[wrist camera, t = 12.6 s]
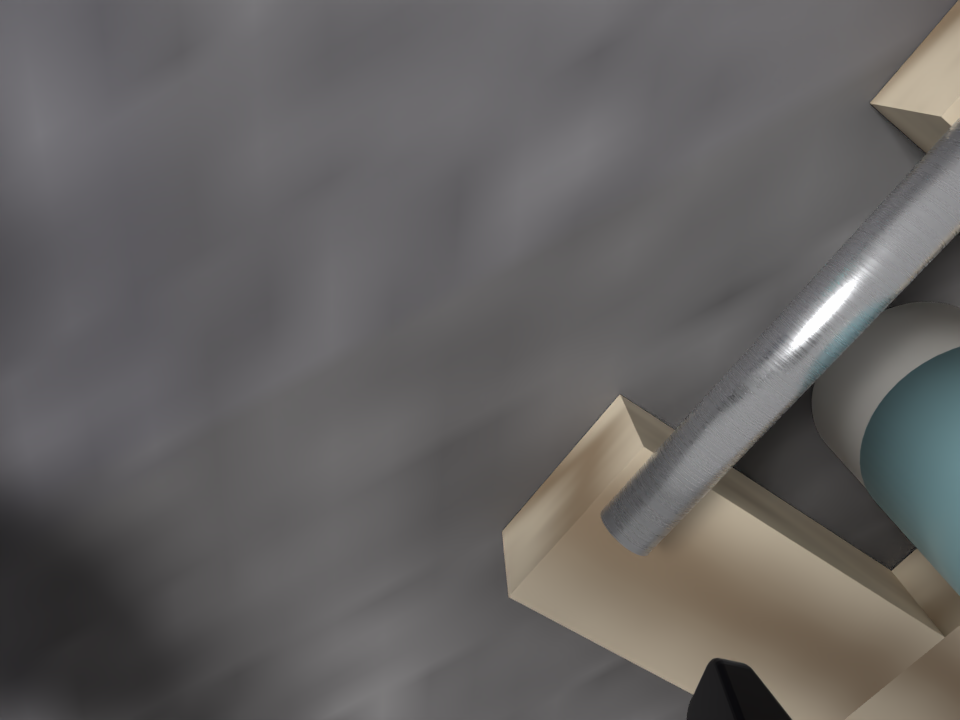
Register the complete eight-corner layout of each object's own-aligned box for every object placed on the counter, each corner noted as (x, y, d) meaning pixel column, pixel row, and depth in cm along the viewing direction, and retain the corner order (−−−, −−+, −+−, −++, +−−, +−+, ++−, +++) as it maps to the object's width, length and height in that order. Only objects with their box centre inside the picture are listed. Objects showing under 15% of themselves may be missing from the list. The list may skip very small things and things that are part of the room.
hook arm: (641, 526, 20) (655, 565, 19) (595, 499, 20) (607, 537, 18) (1061, 81, 16) (1124, 86, 14) (1014, 34, 15) (1074, 35, 14)
